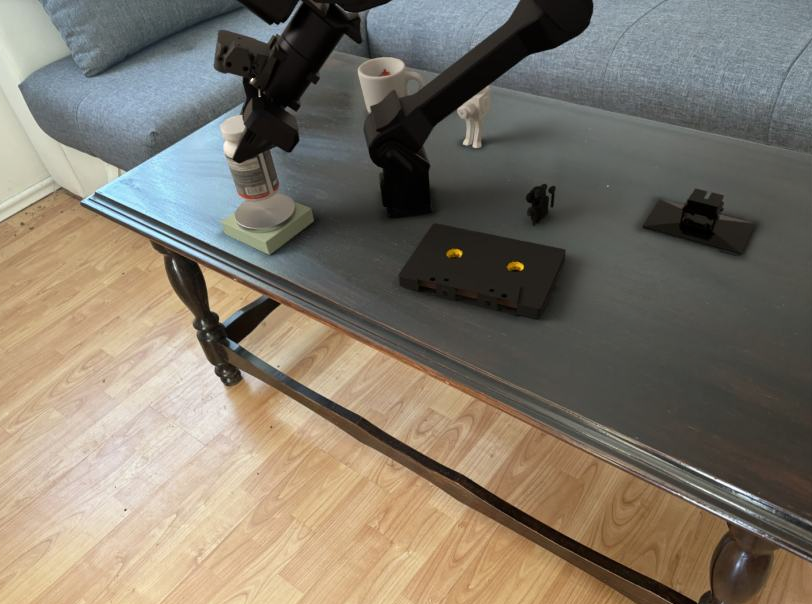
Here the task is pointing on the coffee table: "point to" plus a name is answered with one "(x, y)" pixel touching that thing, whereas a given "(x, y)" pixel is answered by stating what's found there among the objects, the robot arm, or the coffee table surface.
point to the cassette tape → (484, 270)
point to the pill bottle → (249, 165)
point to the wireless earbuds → (539, 202)
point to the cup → (385, 79)
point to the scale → (267, 222)
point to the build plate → (700, 223)
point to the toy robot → (475, 116)
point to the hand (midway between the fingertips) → (236, 149)
